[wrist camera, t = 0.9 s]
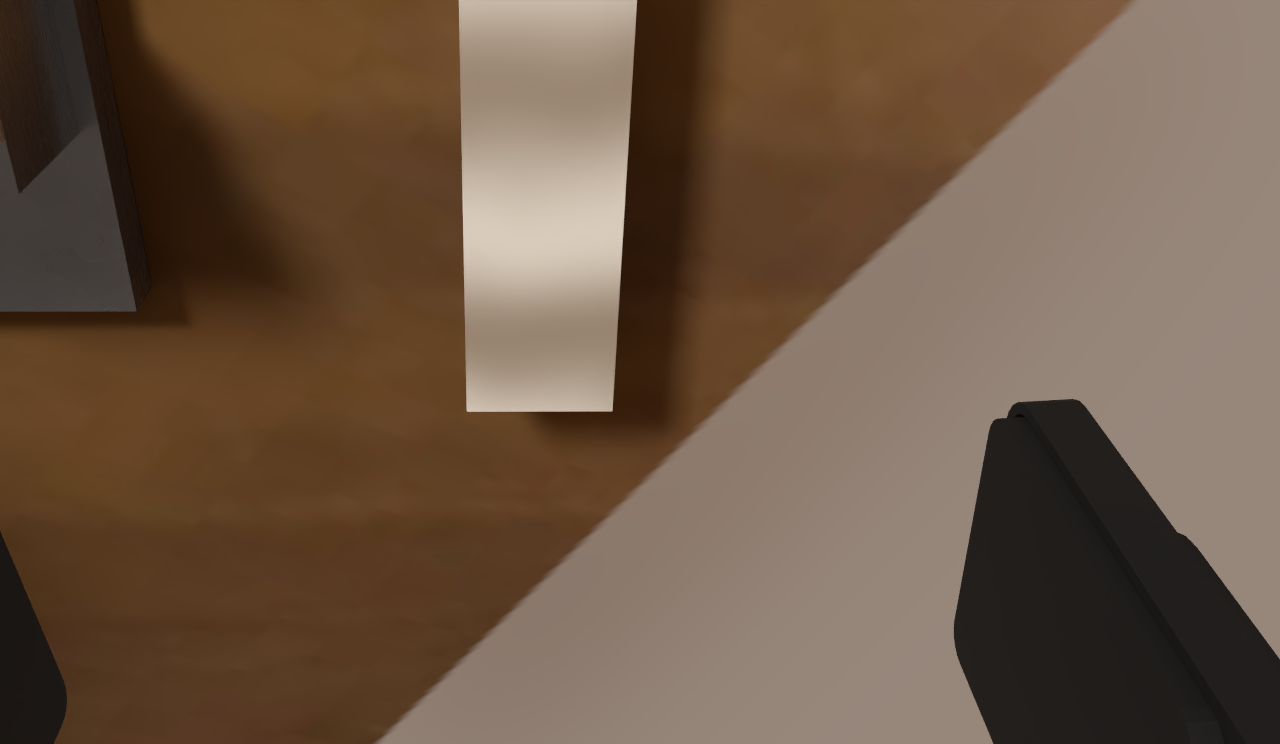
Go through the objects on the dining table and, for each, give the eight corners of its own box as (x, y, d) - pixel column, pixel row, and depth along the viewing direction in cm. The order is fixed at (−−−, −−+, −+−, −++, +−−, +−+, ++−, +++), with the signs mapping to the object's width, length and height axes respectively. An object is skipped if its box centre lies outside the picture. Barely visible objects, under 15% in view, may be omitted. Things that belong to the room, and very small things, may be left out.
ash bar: (602, 340, 34) (612, 411, 31) (471, 340, 34) (466, 411, 31) (638, -354, 25) (658, -362, 22) (459, -368, 25) (452, -379, 21)
